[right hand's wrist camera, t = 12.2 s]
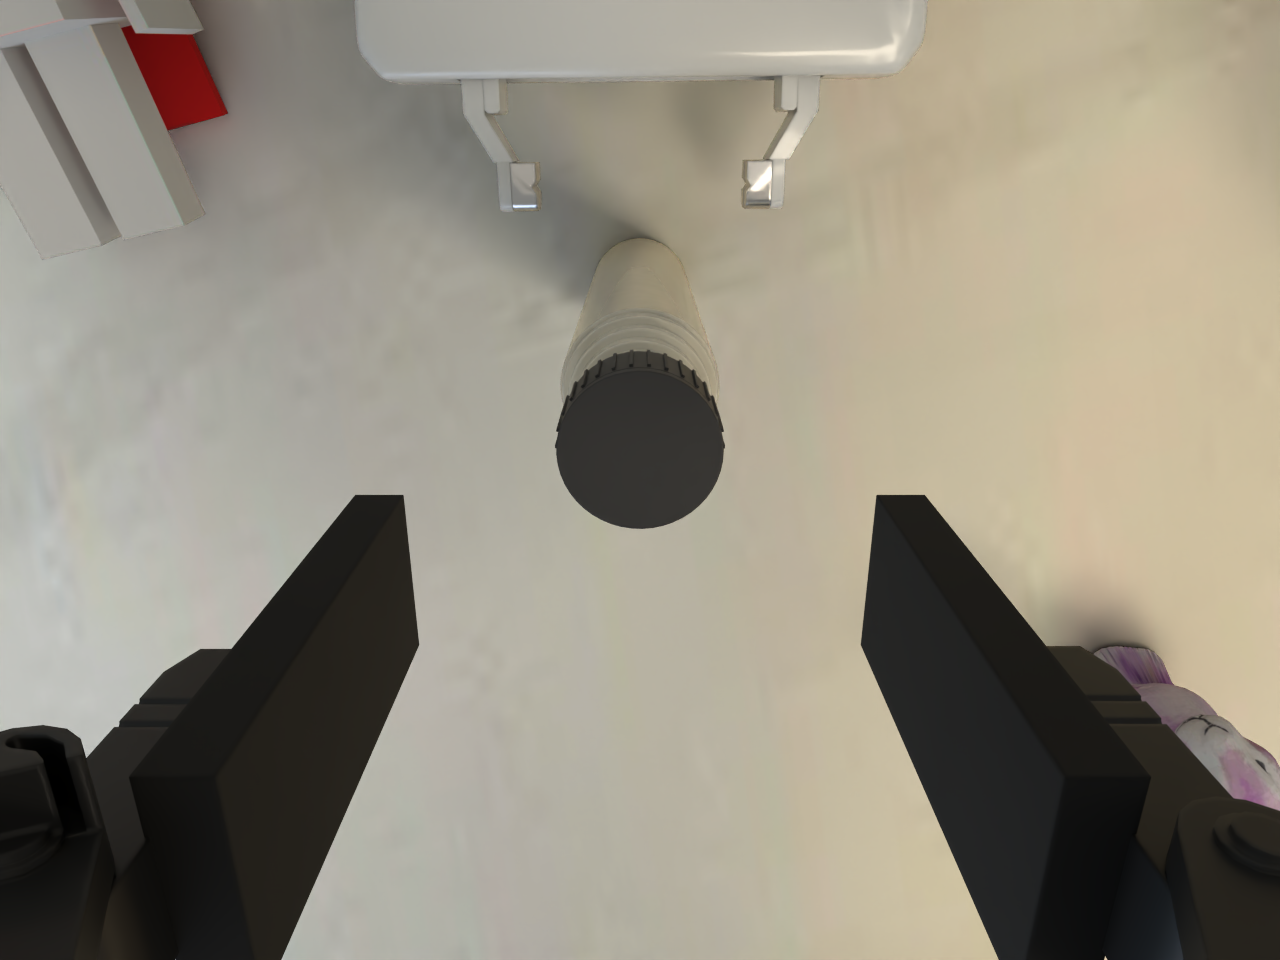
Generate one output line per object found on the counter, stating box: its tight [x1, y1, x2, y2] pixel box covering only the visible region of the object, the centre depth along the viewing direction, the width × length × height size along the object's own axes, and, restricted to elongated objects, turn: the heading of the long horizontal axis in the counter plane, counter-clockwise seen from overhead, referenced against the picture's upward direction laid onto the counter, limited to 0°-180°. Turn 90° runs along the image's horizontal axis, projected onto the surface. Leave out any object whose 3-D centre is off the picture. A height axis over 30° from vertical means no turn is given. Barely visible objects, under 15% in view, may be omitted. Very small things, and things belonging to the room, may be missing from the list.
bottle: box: [561, 238, 719, 406], centre depth 31 cm, size 4×4×24 cm
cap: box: [555, 350, 725, 529], centre depth 21 cm, size 4×4×2 cm
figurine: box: [1093, 646, 1280, 811], centre depth 44 cm, size 9×10×15 cm
